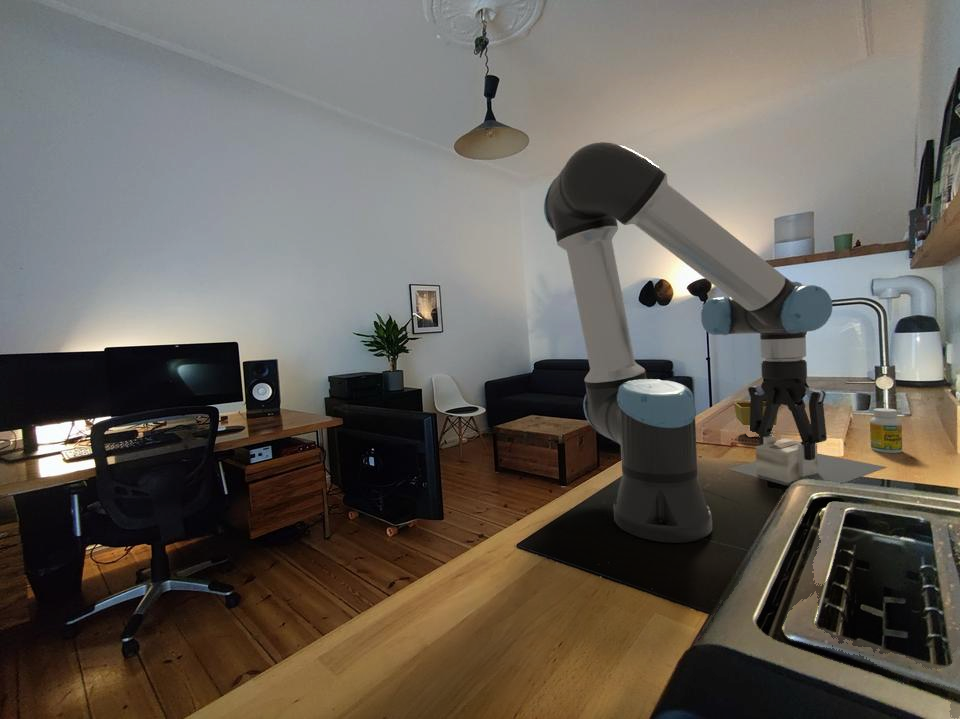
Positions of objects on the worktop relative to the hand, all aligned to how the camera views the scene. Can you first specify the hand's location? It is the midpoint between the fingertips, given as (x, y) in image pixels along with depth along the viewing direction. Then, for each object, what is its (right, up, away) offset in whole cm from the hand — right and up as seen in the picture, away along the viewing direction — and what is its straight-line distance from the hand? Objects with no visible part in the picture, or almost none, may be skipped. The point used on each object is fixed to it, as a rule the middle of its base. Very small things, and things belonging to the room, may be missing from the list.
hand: (787, 470), depth 87 cm
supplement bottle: (+31, +1, +11) cm, 33 cm away
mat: (+6, -1, +2) cm, 6 cm away
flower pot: (+14, +1, +31) cm, 34 cm away
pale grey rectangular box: (0, -1, 0) cm, 1 cm away
